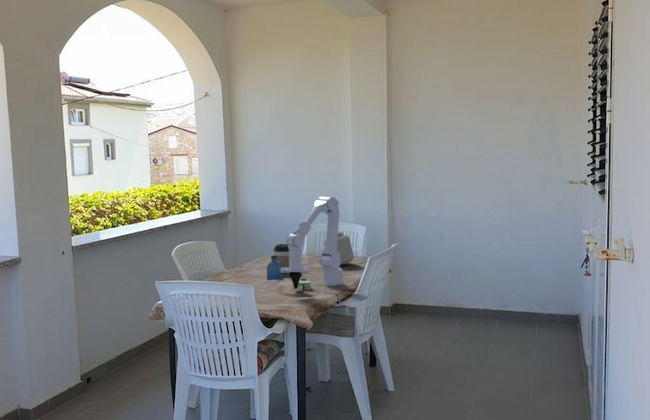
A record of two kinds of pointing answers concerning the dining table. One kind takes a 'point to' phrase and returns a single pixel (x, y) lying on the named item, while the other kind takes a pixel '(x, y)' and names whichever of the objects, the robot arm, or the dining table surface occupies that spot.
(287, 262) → the coffee cup
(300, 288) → the link
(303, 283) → the keeper
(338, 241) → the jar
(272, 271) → the perfume bottle
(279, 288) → the board
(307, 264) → the dining table surface
